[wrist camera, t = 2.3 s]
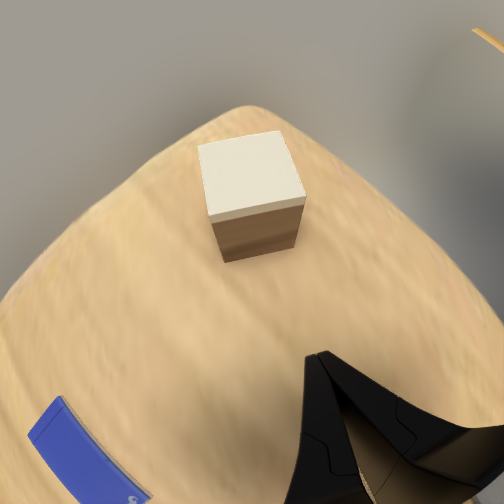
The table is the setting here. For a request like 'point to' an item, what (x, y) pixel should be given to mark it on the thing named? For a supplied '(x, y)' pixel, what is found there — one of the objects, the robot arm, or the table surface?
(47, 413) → the hard drive
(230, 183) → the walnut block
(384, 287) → the table surface
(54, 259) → the table surface
